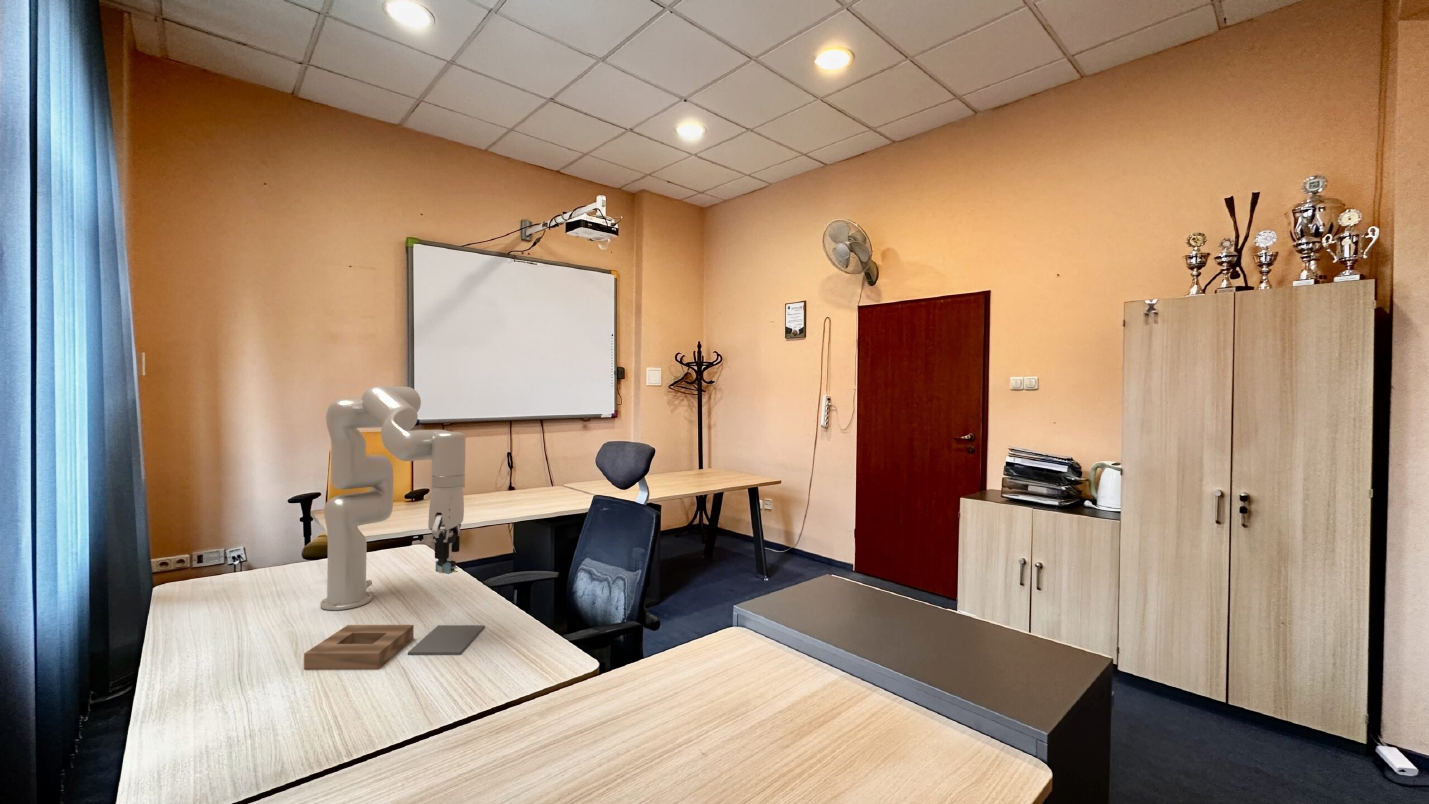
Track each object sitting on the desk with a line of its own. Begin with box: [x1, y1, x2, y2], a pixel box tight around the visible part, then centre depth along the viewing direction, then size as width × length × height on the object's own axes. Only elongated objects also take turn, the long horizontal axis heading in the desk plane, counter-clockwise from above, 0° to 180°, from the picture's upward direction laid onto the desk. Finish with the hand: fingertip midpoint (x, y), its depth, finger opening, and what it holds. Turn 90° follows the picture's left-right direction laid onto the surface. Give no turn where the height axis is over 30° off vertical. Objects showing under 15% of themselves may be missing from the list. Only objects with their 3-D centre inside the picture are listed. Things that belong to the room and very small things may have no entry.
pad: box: [407, 624, 486, 656], centre depth 142 cm, size 16×12×1 cm
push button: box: [432, 530, 459, 575], centre depth 141 cm, size 7×5×10 cm
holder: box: [303, 624, 415, 670], centre depth 134 cm, size 16×16×4 cm
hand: (447, 554), depth 141 cm, fingers closed on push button, 5 cm apart
